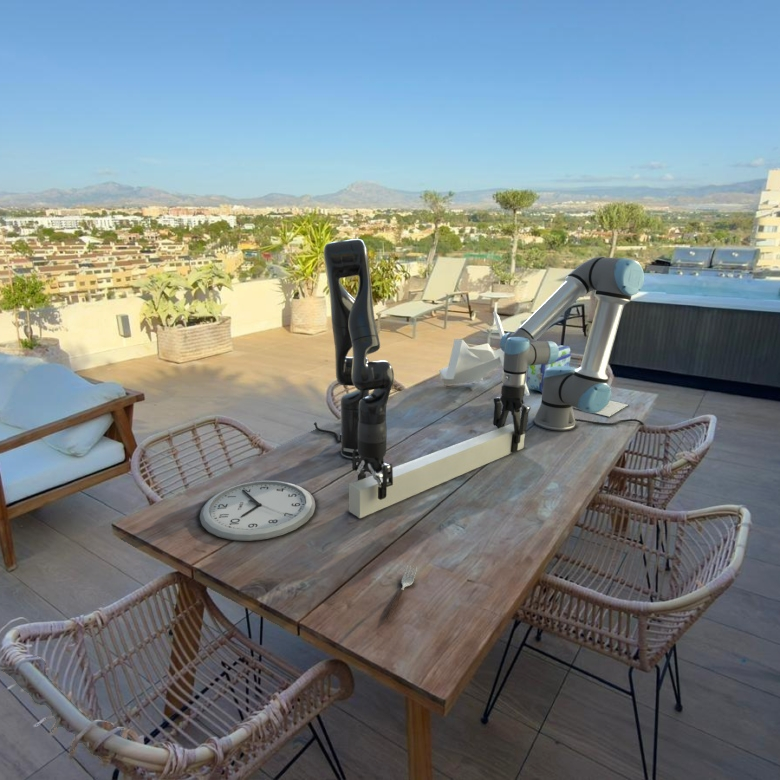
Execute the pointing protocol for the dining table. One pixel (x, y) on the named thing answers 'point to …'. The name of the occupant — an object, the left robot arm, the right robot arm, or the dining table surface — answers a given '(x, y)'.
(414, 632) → the dining table surface
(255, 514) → the wall clock
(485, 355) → the white plastic object
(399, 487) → the post
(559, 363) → the lunch box
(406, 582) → the fork
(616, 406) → the invitation card
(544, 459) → the dining table surface
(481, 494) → the dining table surface
